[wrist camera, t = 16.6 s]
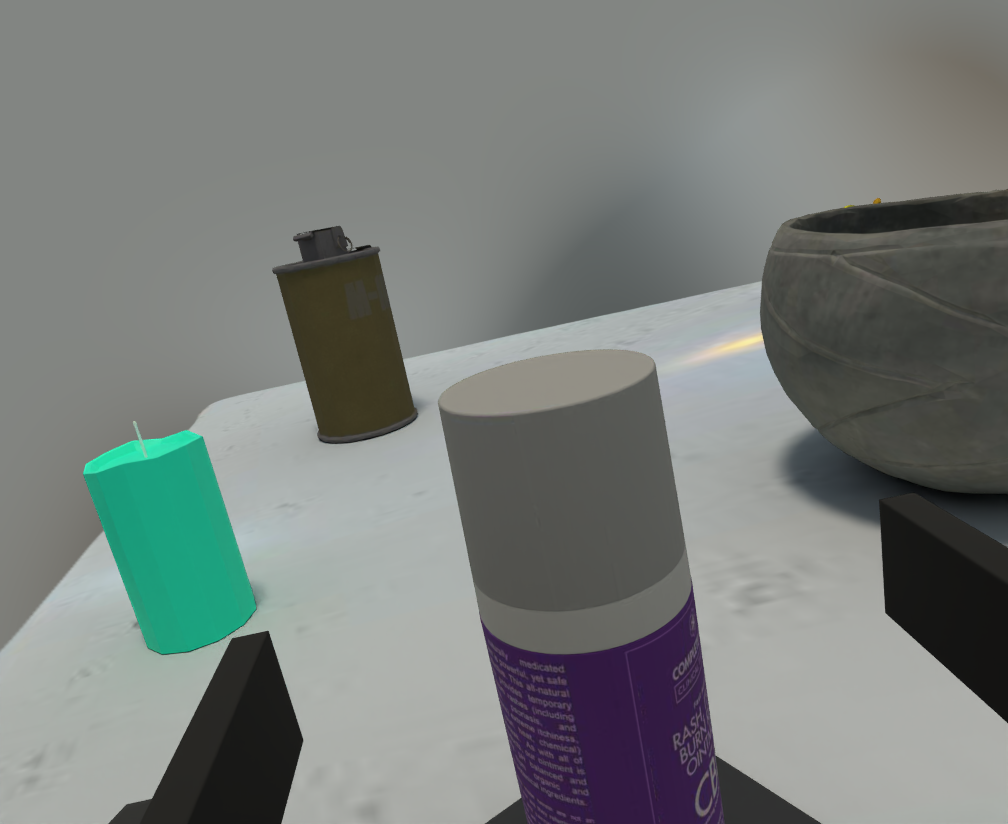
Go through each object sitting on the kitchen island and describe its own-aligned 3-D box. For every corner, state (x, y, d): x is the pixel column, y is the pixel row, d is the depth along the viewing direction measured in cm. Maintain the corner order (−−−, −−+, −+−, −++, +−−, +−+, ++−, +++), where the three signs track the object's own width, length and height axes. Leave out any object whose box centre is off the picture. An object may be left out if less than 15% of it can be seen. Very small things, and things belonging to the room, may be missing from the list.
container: (770, 1015, 17) (690, 382, 12) (566, 1050, 17) (421, 434, 13) (709, 841, 21) (635, 335, 17) (548, 870, 21) (437, 374, 17)
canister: (373, 444, 69) (319, 228, 63) (297, 443, 74) (241, 245, 69) (440, 406, 77) (397, 214, 72) (366, 408, 83) (321, 230, 77)
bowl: (1345, 566, 28) (1401, 157, 24) (761, 552, 37) (729, 254, 33) (1144, 397, 46) (1157, 148, 42) (785, 416, 55) (767, 212, 51)
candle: (246, 637, 39) (175, 423, 35) (130, 665, 38) (48, 451, 35) (265, 583, 44) (206, 396, 41) (165, 607, 44) (97, 419, 41)
